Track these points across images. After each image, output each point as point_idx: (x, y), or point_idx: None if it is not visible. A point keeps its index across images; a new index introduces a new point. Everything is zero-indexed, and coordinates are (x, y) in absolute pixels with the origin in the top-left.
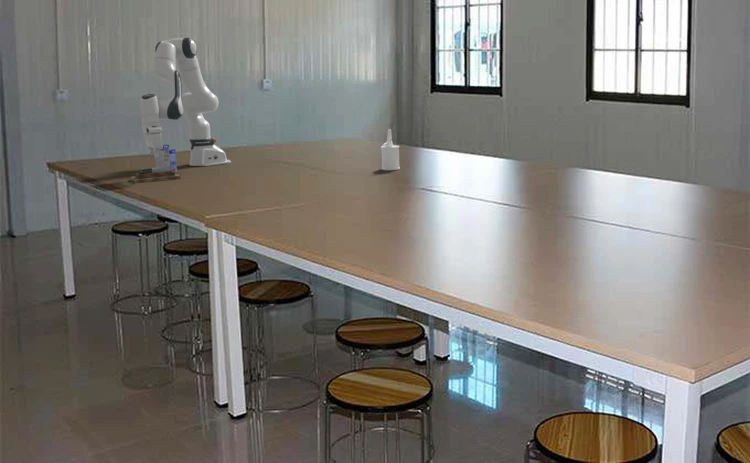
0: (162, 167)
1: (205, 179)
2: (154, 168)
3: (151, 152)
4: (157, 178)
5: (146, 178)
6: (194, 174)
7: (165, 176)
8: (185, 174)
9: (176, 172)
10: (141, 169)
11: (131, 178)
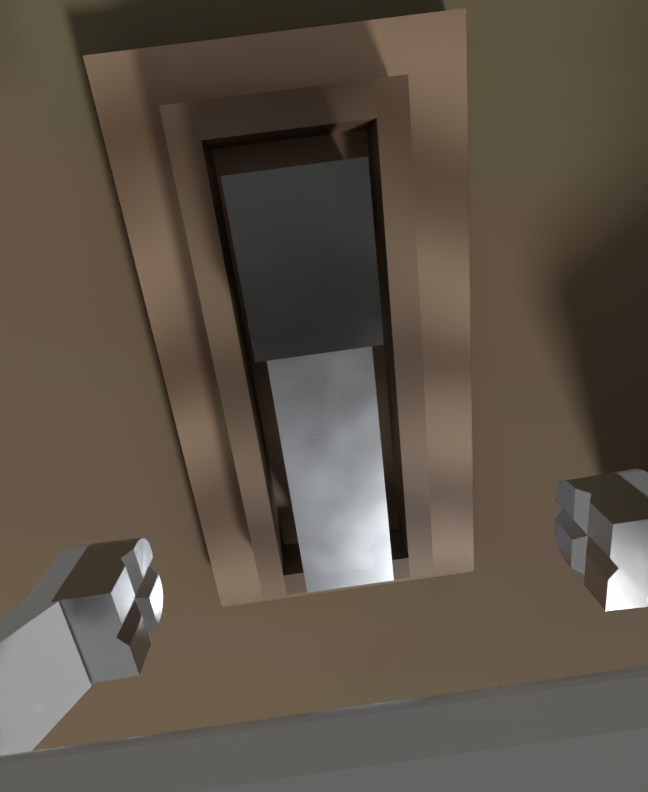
0: (343, 508)
1: (69, 744)
2: (301, 399)
3: (595, 528)
4: (165, 377)
5: (170, 239)
6: (423, 691)
7: (234, 472)
8: (476, 632)
9: None
10: (239, 174)
11: (397, 22)
